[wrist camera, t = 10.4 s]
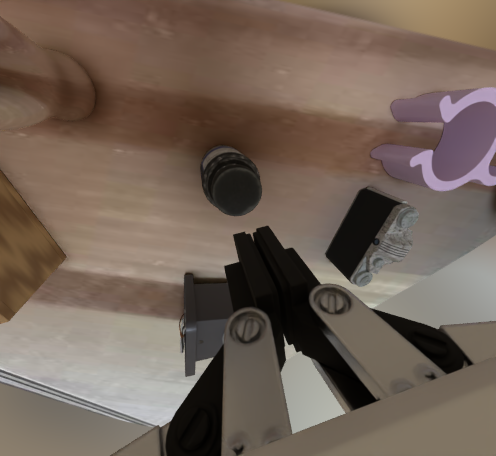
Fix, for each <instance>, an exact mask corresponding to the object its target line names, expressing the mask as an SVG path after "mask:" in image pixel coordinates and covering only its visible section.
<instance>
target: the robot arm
mask: <svg viewBox="0 0 496 456" xmlns="http://www.w3.org/2000/svg"><path fill="white" fill-rule="evenodd" d="M256 231H257V232H254V233H253V237H254V241H253V239H252V237H251V235H250V234H245V232H242V233H238V234H234V235H233V236H234V241H235V245H236V250H237V254H238V258H239V262H237V263H233V264H230V265H226V266H224V268H225V273H226V278H227V283H228V287H229V292H230V297H231V302H232V307H233V312H234V313H233V314H232V315H231V316H230V317H229V318H228V320H227V322H226V324H225V329H224V344H223V345H222V347H221V348H220V350H219V351H218V352H217V354H216V355H215V357H214V358H213V360H212V361H211V363H210V364H209V365H208V367H207V368H206V370H205V371H204V373H203V374H202V375H201V377H200V378H199V380H198V381H197V383H196V384H195V386H194V387H193V388H192V390H191V391H190V393H189V394H188V396H187V397H186V399H185V400H184V401H183V403H182V404H181V406H180V407H179V409H178V410H177V411H176V413H175V415H174V417H173V419H172V420H171V421H170V422H169V423H167V424H166V425H164V426H162V427H161V428H160V427H159V425H158V426H156V427H154V428H153V429H151V430H150V431H148V432H147V433H145V434H143V435H142V436H140V437H139V438H137V439H136V440H134V441H132V442H131V443H129V444H128V445H126V446H125V447H123V448H121V449H120V450H118V451H117V452H115V453H114V454H112V455H111V456H496V321H490V322H478V323H467V324H454V325H442V326H440V328H439V329H436V328H433V327H431V326H428V325H425V324H422V323H418V322H415V321H411V320H408V319H405V318H402V317H398V316H395V315H391V314H388V313H385V312H382V311H378V310H375V309H372V308H369V307H368V306H367V305H365V304H364V303H363V302H362V301H361V300H359V299H358V298H357V297H356V296H355V295H354V294H352V293H351V292H350V291H349V290H347V289H346V288H344V287H342V286H339V285H336V284H320V282H319V281H318V280H317V278H316V277H315V276H314V275H313V273H312V272H311V271H310V269H309V268H308V267H307V265H306V264H305V263H304V262H303V260H302V259H301V258H300V256H299V255H298V254H297V252H296V251H295V250H294V249H293V248H288V249H284V248H283V246H282V245H281V243H280V242H279V241H278V239H277V238H276V236H275V235H274V233H273V232H272V230H271V229H270V228H269V226H265V227H261V228H257V229H256ZM283 334H284V335H283ZM284 336H285V338H286V341H287V343H288V345H291V344H293V345H294V347H295V350H296V352H299V351H301V352H302V354H303V355H305V356H308V357H310V358H311V359H312V362H313V364H314V365H315V367H316V369H317V370H318V372H319V373H320V374H321V376H322V378H323V379H324V381H325V382H326V384H327V385H328V387H329V388H330V390H331V392H332V393H333V395H334V396H335V397H336V399H337V401H338V402H339V404H340V405H341V407H342V408H343V409H344V411H345V413H346V414H343V415H341V416H338V417H336V418H333V419H330V420H328V421H325V422H323V423H320V424H318V425H315V426H312V427H310V428H307V429H305V430H302V431H300V432H297V433H295V434H292V430H291V424H290V420H289V414H288V409H287V404H286V399H285V394H284V389H283V384H282V379H281V370H282V368H283V366H284V363H285V361H286V357H285V349H284V347H285V342H284Z"/></svg>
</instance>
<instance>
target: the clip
mask: <svg viewBox="0 0 496 456" xmlns="http://www.w3.org/2000/svg"><path fill="white" fill-rule="evenodd" d="M391 110H392V113H393V116H394V118H395V119H396V120H397V121H404V122H444V130H443V134H442V138H441V140H440V142H439V144H438V146H437V148H436V150H435V151H434V152H433V151H432V150H428V149H421V148H414V147H407V146H400V145H393V144H382V145H380V146H379V147H377V148H375V149H373V150H372V151H371V157H372V158H375V159H379V160H382V164H383V167H384V169H385V171H386V172H387V173H388V174H389V175H390V176H392V177H394V178H397V179H401V180H404V181H407V182H410V183H414V184H417V185H420V186H424V187H427V188H430V189H433V190H437V191H448V190H452V189H455V188H457V187H459V186H461V185H463V184H465V183H466V182H468V181H470V182H474V183H478V184H482V185H487V186H493V185H496V166H490V165H489V164H490V161H491V159H492V157H493V155H494V154H495V152H496V88H491V87H488V88H477V89H467V90H457V91H447V92H436V93H427V94H423V95H420V96H418V97H416V98H411V99H398V100H395V101H394V102H393V103H392V104H391Z"/></svg>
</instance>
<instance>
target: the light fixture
mask: <svg viewBox="0 0 496 456" xmlns="http://www.w3.org/2000/svg"><path fill="white" fill-rule="evenodd" d="M233 313H234V312H233V307H232V302H231V297H230V292H229V287H228V283H217V284H193V275H184V314H183V315H184V318H183V319H184V321H183V319H182V324H181V328H180V323H179V328H180V336H181V338H180V351H181V354H182V353H183V349H184V340H185V376H186V377H187V376H192V375H195V361H199V360H204V359H208V358H212V357H215V355H216V354H217V352H218V351H219V350H220V348H221V347H222V345H223V344H224V329H225V324H226V322H227V320H228V318H229V317H230V316H231V315H232V314H233ZM183 315H182V316H183ZM181 318H182V317H181ZM180 321H181V319H180ZM183 323H184V326H183ZM182 327H183V328H182Z"/></svg>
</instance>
